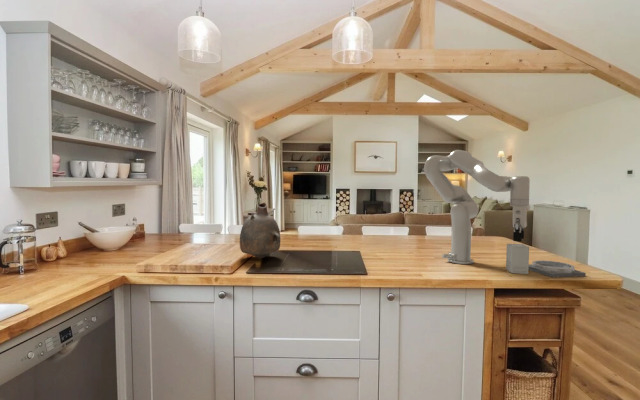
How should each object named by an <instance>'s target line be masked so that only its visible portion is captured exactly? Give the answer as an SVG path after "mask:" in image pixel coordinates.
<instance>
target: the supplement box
mask: <svg viewBox="0 0 640 400" xmlns="http://www.w3.org/2000/svg"><path fill="white" fill-rule="evenodd" d="M505 254H506V258H505V259H506V260H505V261H506V262H505V270H506V271H507V272H509V273H510V274H519V275H520V274H521V275H529V270H528V269H529V265H530V263H529V262H530V246H528V245H527V244H524V243H523V244H522V243H506V253H505Z"/></svg>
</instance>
